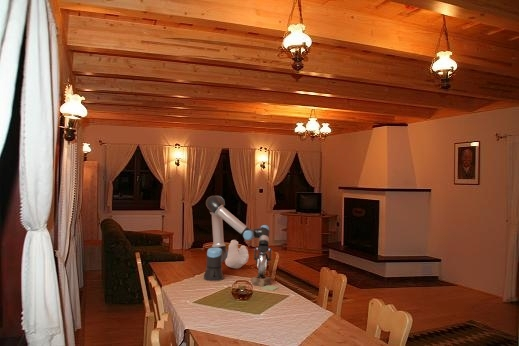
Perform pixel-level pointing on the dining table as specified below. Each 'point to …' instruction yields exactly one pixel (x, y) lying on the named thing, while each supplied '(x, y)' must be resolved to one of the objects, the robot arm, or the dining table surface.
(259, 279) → the collar
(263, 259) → the silver metallic cylinder
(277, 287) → the mat
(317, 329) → the dining table surface
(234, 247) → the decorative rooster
